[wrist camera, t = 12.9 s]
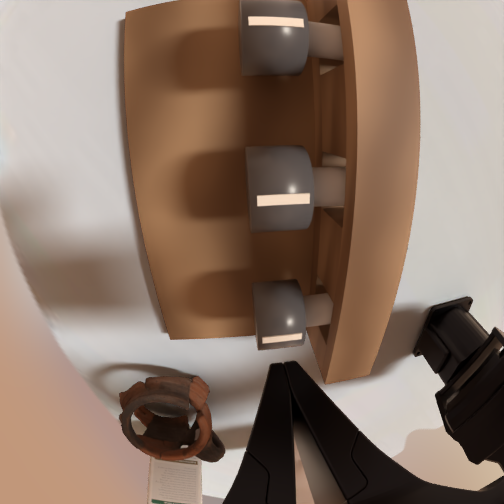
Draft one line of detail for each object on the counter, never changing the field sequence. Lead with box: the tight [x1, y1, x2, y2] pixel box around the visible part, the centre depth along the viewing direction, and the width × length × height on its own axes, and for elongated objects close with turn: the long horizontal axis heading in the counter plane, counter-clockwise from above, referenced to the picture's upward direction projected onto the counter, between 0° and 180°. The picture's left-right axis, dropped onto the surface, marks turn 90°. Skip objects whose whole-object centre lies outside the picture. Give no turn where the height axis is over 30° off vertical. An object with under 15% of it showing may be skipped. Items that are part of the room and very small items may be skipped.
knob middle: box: [245, 145, 346, 233], centre depth 12 cm, size 8×4×4 cm, turn 93°
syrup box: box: [147, 427, 202, 504], centre depth 21 cm, size 6×6×14 cm
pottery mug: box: [119, 376, 225, 462], centre depth 21 cm, size 12×10×8 cm
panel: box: [124, 0, 420, 384], centre depth 12 cm, size 13×22×6 cm, turn 3°
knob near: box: [238, 0, 344, 76], centre depth 9 cm, size 8×4×4 cm, turn 93°
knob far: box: [252, 279, 333, 350], centre depth 15 cm, size 8×4×4 cm, turn 93°
